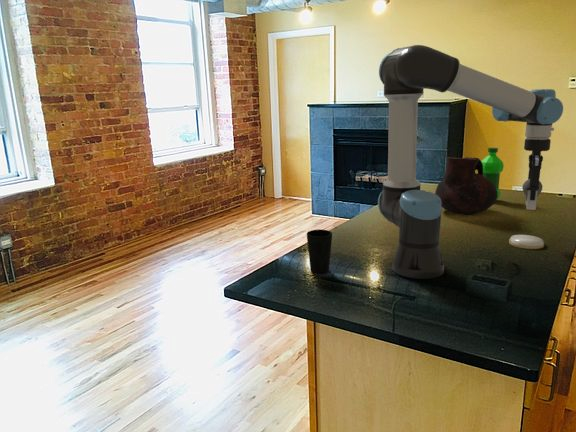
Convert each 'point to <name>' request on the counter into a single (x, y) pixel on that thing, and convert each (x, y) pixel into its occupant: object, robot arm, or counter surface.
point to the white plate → (526, 242)
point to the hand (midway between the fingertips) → (530, 206)
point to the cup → (319, 250)
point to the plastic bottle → (493, 168)
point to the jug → (465, 187)
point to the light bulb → (526, 185)
